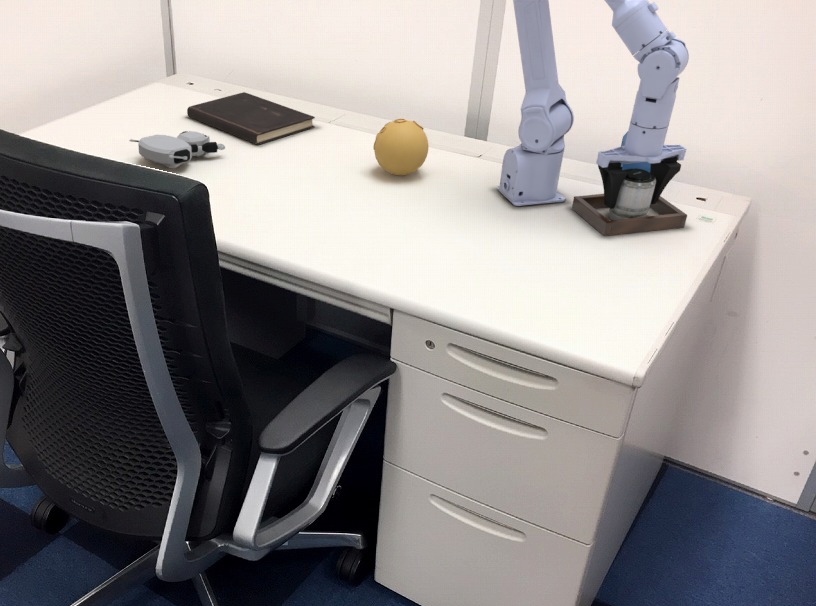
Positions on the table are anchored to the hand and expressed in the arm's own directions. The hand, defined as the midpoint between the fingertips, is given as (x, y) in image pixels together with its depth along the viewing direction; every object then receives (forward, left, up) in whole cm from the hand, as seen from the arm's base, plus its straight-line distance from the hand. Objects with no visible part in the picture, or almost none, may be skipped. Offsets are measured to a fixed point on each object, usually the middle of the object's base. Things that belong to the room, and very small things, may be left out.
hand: (629, 204), depth 141 cm
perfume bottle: (+11, +16, -3) cm, 20 cm away
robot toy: (-70, +43, -3) cm, 82 cm away
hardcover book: (-53, +61, -3) cm, 81 cm away
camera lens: (0, 0, -3) cm, 3 cm away
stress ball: (-31, +27, -3) cm, 41 cm away
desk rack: (0, 0, -2) cm, 2 cm away
